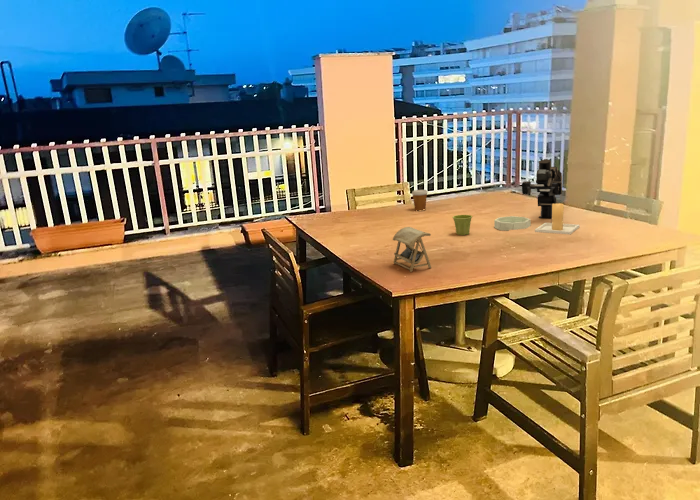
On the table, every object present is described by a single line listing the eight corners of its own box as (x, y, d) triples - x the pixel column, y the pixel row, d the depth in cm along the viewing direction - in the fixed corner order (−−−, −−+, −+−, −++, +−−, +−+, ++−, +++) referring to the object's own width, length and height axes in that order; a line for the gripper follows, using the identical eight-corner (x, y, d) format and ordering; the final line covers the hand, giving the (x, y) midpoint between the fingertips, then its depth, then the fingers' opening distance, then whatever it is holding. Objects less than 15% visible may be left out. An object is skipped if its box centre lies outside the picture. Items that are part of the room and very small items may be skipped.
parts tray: (545, 226, 266) (545, 222, 265) (579, 228, 256) (579, 224, 256) (534, 233, 253) (534, 229, 253) (570, 236, 244) (570, 231, 243)
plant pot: (450, 235, 260) (449, 218, 258) (456, 231, 268) (455, 214, 266) (469, 236, 256) (469, 218, 254) (474, 232, 264) (474, 214, 262)
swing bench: (392, 264, 219) (390, 228, 215) (412, 260, 223) (411, 225, 219) (410, 272, 206) (409, 235, 202) (432, 268, 210) (431, 231, 206)
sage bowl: (502, 223, 279) (502, 215, 278) (533, 225, 270) (533, 217, 269) (490, 229, 267) (490, 221, 266) (522, 232, 258) (522, 223, 257)
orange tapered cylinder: (553, 227, 258) (554, 203, 255) (564, 228, 255) (565, 203, 252) (550, 230, 254) (550, 205, 251) (561, 230, 251) (562, 205, 248)
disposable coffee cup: (429, 211, 326) (428, 191, 323) (413, 212, 326) (412, 192, 323) (427, 208, 335) (426, 189, 332) (411, 209, 335) (411, 190, 332)
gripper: (524, 167, 273) (518, 179, 261) (563, 167, 264) (559, 178, 253) (525, 187, 278) (519, 200, 266) (563, 188, 269) (559, 200, 258)
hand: (538, 194), depth 261 cm, fingers open, 9 cm apart
